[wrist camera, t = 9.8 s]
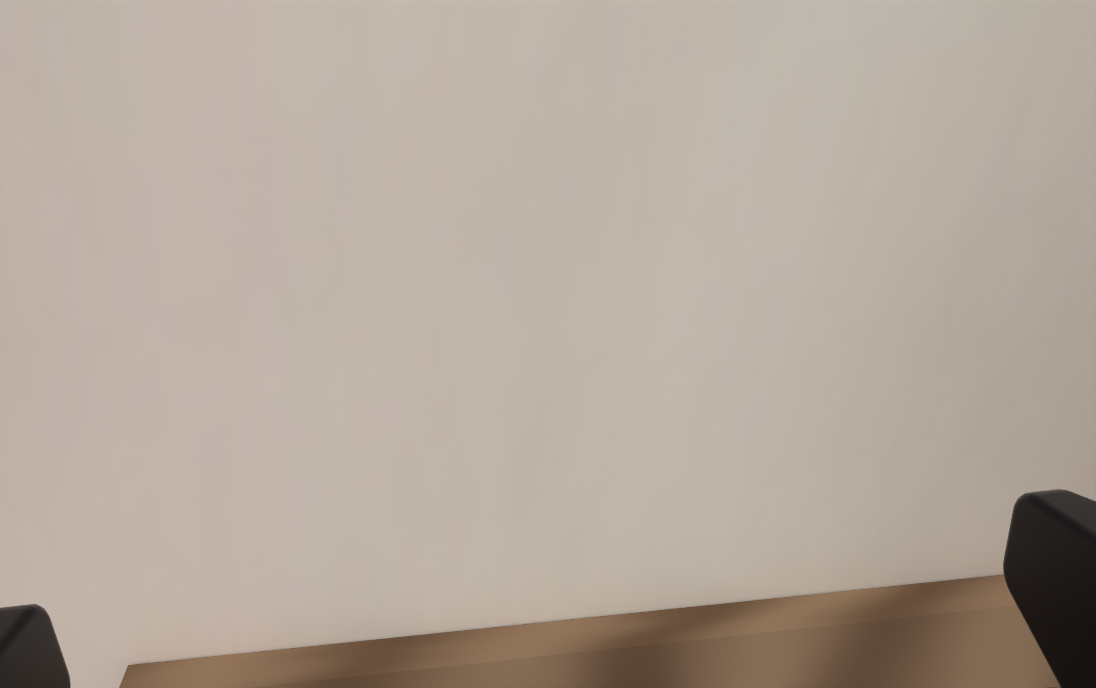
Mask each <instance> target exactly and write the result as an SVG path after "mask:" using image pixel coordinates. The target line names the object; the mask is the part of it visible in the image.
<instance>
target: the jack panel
mask: <svg viewBox="0 0 1096 688" xmlns="http://www.w3.org/2000/svg"><path fill="white" fill-rule="evenodd" d="M119 688H1061V687H1060V685H1059V683H1058V681H1057V679H1056V677H1055V676H1054V674H1053V672H1052V670H1051V668H1050V666H1049V664H1048V662H1047V661H1046V659H1045V657H1044V655H1043V653H1042V651H1041V649H1040V648H1039V646H1038V644H1037V642H1036V640H1035V638H1034V636H1033V634H1032V633H1031V631H1030V629H1029V627H1028V625H1027V623H1026V621H1025V619H1024V618H1023V616H1022V614H1021V612H1020V610H1019V608H1018V606H1017V605H1016V603H1015V601H1014V599H1013V597H1012V595H1011V593H1010V591H1009V589H1008V587H1007V584H1006V581H1005V577H1004V575H997V576H987V577H977V578H968V579H958V580H948V581H939V582H929V583H919V584H910V585H900V586H890V587H881V588H871V589H861V590H852V591H842V592H832V593H823V594H813V595H803V596H794V597H784V598H774V599H765V600H755V601H745V602H736V603H726V604H716V605H707V606H697V607H687V608H678V609H668V610H658V611H649V612H639V613H629V614H620V615H610V616H600V617H591V618H581V619H571V620H562V621H552V622H542V623H533V624H523V625H513V626H504V627H494V628H484V629H475V630H465V631H455V632H446V633H436V634H426V635H417V636H407V637H397V638H388V639H378V640H368V641H359V642H349V643H339V644H330V645H320V646H310V647H301V648H291V649H281V650H272V651H262V652H252V653H243V654H233V655H223V656H214V657H204V658H194V659H185V660H175V661H165V662H156V663H146V664H136V665H128V667H127V670H126V672H125V675H124V677H123V680H122V682H121V685H120V687H119Z"/></svg>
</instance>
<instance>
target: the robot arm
mask: <svg viewBox="0 0 1096 688" xmlns="http://www.w3.org/2000/svg"><path fill="white" fill-rule="evenodd" d="M1003 570H1004V577H1005V581H1006V584H1007V587H1008V589H1009V591H1010V593H1011V595H1012V597H1013V599H1014V601H1015V603H1016V605H1017V606H1018V608H1019V610H1020V612H1021V614H1022V616H1023V618H1024V619H1025V621H1026V623H1027V625H1028V627H1029V629H1030V631H1031V633H1032V634H1033V636H1034V638H1035V640H1036V642H1037V644H1038V646H1039V648H1040V649H1041V651H1042V653H1043V655H1044V657H1045V659H1046V661H1047V662H1048V664H1049V666H1050V668H1051V670H1052V672H1053V674H1054V676H1055V677H1056V679H1057V681H1058V683H1059V685H1060V687H1061V688H1096V501H1093V500H1091V499H1088V498H1086V497H1083V496H1080V495H1078V494H1075V493H1073V492H1070V491H1067V490H1060V489H1058V490H1048V491H1040V492H1031V493H1025V494H1024V495H1022V496H1020V497H1019V498H1018V500H1017V501H1016V503H1015V505H1014V509H1013V514H1012V519H1011V524H1010V530H1009V535H1008V540H1007V545H1006V551H1005V556H1004V563H1003ZM0 688H70V677H69V673H68V670H67V667H66V664H65V661H64V658H63V655H62V652H61V649H60V646H59V643H58V640H57V637H56V634H55V631H54V628H53V625H52V622H51V620H50V617H49V615H48V613H47V612H46V611H45V609H44V608H43V607H41V606H38V605H36V604H30V605H21V606H12V607H3V608H0Z"/></svg>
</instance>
